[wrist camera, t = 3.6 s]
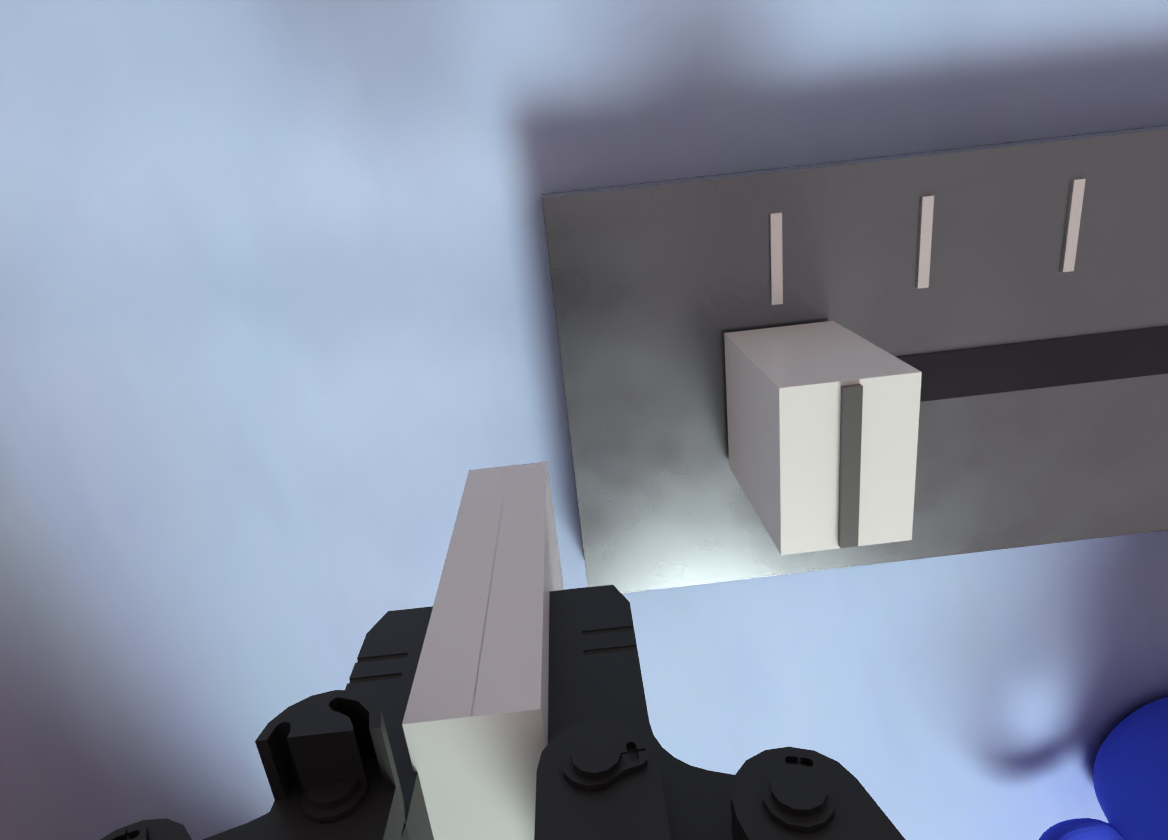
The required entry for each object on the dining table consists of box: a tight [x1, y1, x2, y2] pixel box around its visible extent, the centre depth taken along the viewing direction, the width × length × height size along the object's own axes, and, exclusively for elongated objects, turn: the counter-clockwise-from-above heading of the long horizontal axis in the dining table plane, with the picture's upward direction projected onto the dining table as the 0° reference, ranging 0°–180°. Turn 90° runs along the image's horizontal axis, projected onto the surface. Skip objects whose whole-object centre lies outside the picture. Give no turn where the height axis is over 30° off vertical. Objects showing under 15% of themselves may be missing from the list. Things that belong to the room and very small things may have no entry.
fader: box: [724, 321, 922, 555], centre depth 18 cm, size 3×4×5 cm
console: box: [542, 125, 1168, 594], centre depth 22 cm, size 30×12×2 cm, turn 96°
